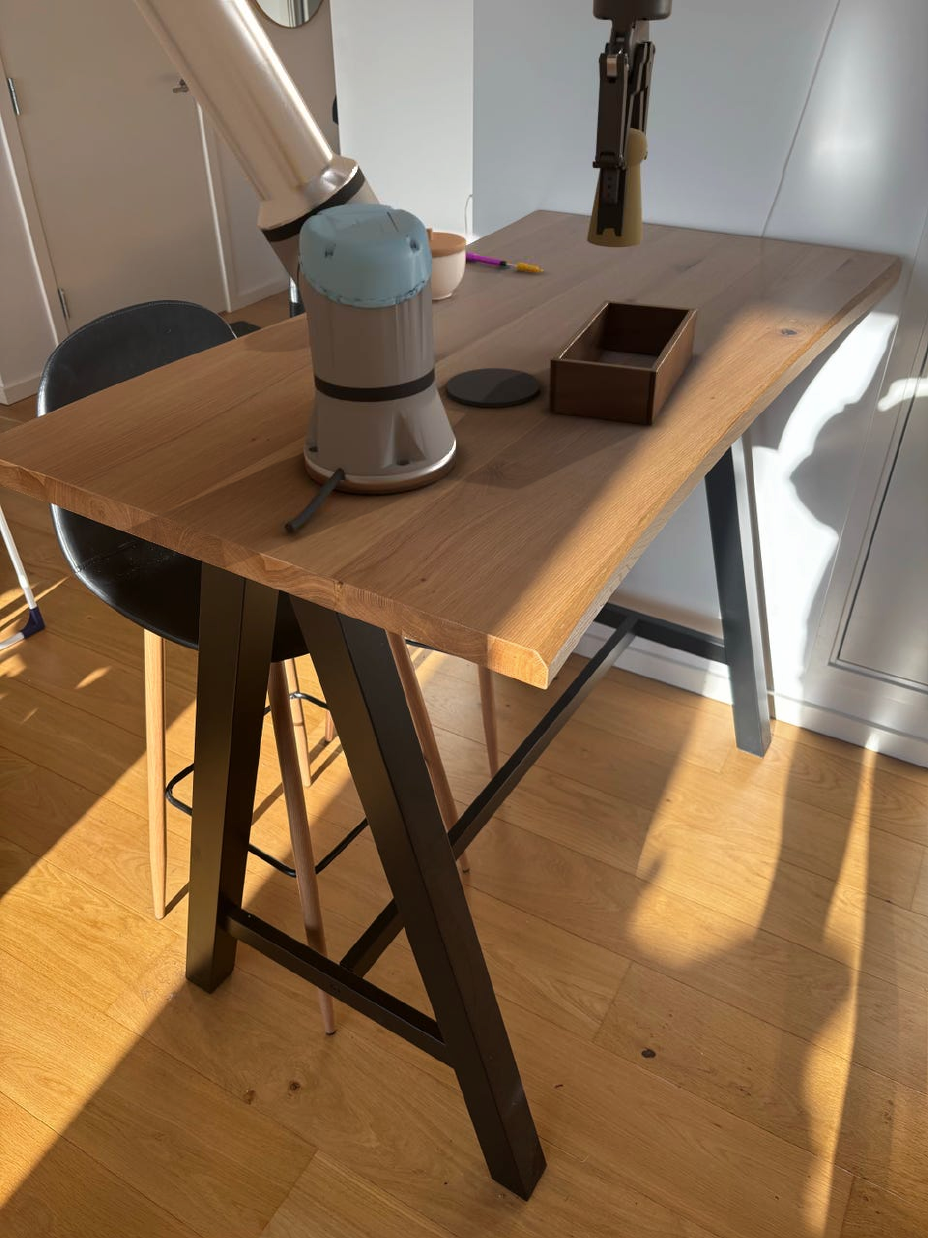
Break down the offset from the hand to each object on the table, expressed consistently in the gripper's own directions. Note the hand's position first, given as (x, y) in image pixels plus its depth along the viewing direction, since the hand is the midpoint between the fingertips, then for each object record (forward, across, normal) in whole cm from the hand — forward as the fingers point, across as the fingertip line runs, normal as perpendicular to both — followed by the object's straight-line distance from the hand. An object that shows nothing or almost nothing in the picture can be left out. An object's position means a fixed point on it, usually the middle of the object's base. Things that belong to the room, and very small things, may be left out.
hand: (615, 229), depth 106 cm
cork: (+1, 0, 0) cm, 1 cm away
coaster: (+18, -6, +12) cm, 22 cm away
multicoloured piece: (+18, +45, +29) cm, 56 cm away
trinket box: (+18, +27, +34) cm, 47 cm away
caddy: (+17, +1, -2) cm, 18 cm away
